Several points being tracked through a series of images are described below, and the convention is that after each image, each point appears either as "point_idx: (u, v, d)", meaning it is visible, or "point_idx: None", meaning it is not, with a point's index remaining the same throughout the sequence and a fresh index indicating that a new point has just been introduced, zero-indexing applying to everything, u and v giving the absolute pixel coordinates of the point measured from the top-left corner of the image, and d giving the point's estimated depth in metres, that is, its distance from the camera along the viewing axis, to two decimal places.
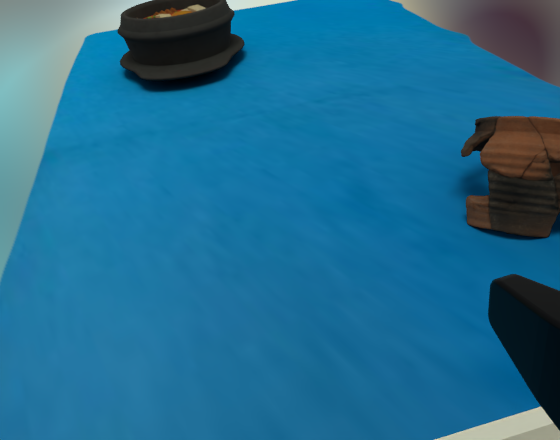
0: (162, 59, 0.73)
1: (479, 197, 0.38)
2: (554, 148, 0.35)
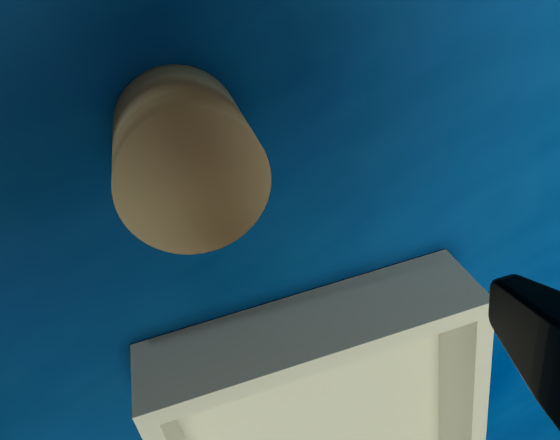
0: None
1: None
2: None
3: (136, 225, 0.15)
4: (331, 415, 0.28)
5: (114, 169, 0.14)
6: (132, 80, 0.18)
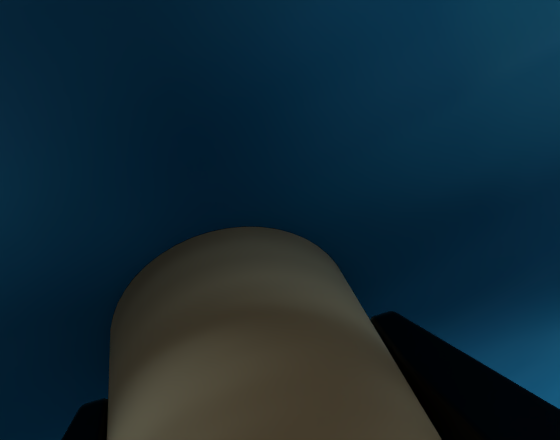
0: None
1: None
2: None
3: None
4: None
5: None
6: None
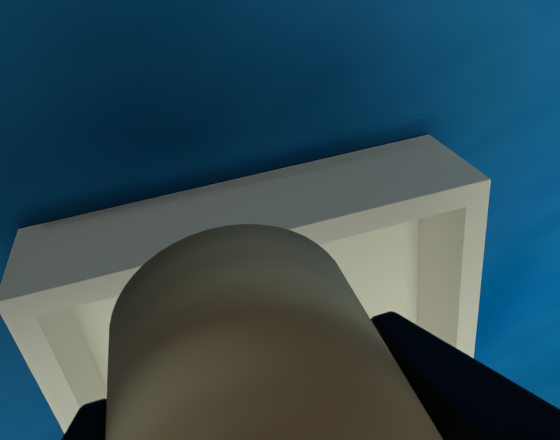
0: None
1: None
2: None
3: None
4: None
5: None
6: (149, 259, 0.09)
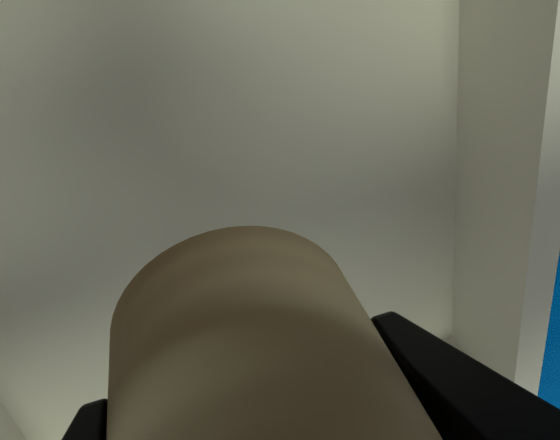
0: None
1: None
2: None
3: None
4: (236, 225, 0.14)
5: None
6: None
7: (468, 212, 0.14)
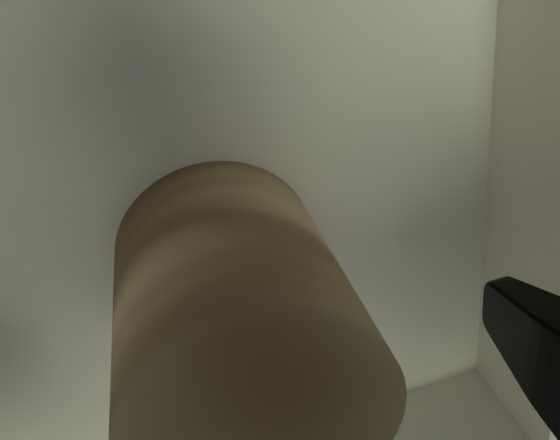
0: None
1: None
2: None
3: None
4: None
5: (114, 430, 0.07)
6: (147, 188, 0.11)
7: (500, 241, 0.13)
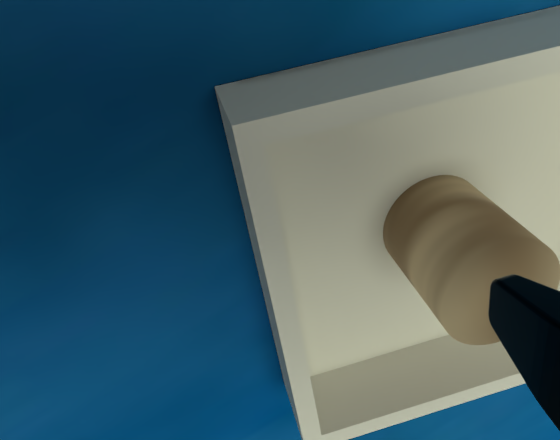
0: None
1: None
2: None
3: (451, 325, 0.18)
4: None
5: (450, 285, 0.17)
6: None
7: None
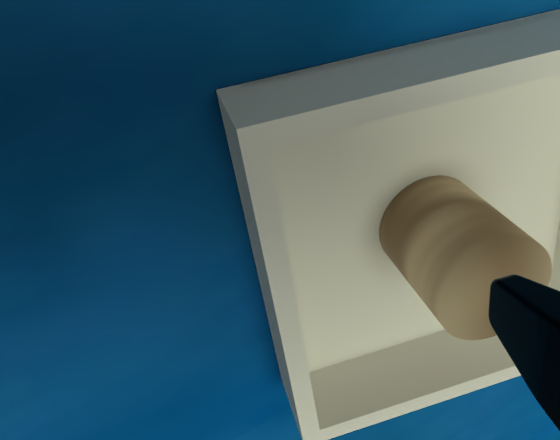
0: None
1: None
2: None
3: (448, 321, 0.19)
4: None
5: (447, 282, 0.18)
6: (403, 189, 0.22)
7: None
